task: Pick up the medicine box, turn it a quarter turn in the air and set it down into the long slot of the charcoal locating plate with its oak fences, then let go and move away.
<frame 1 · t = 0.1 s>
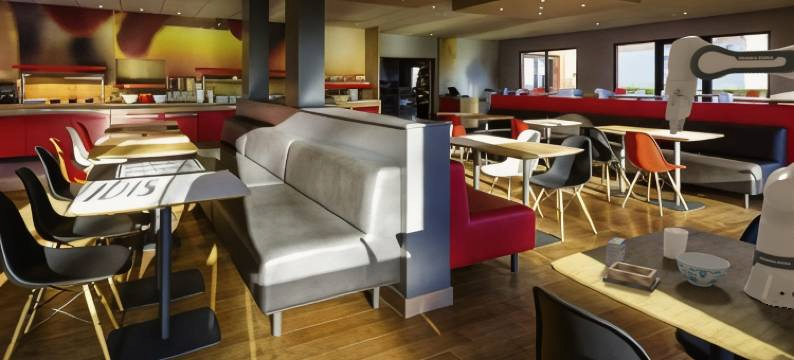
hand: (676, 132, 170), 48 cm above the table, tool pointing down, fingers open, 8 cm apart
medicine box: (614, 264, 188), on the table
locating plate: (631, 280, 172), on the table
white cup: (673, 257, 195), on the table
chinaware: (699, 283, 171), on the table
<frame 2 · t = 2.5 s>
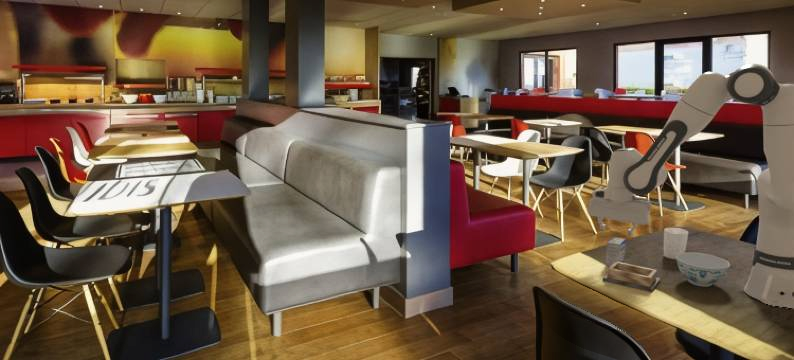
hand: (616, 232, 186), 12 cm above the table, tool pointing down, fingers open, 8 cm apart
nothing on the table moved.
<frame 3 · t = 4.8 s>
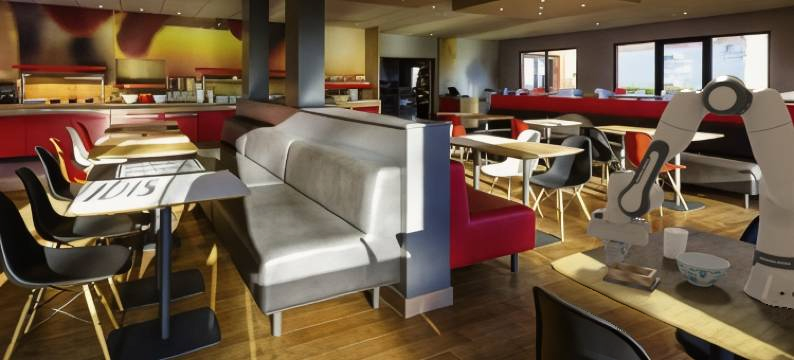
hand: (615, 252, 187), 4 cm above the table, tool pointing down, fingers closed on medicine box, 4 cm apart
medicine box: (614, 264, 188), on the table, touching gripper
everything else where it was.
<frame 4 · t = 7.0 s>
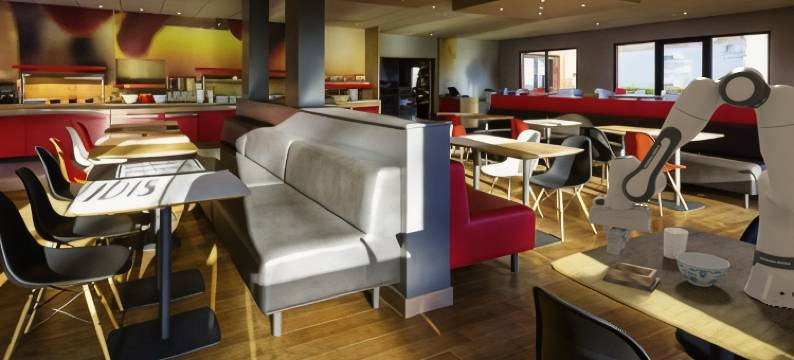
hand: (617, 239, 186), 9 cm above the table, tool pointing down, fingers closed on medicine box, 4 cm apart
medicine box: (616, 251, 187), point 4 cm above the table, touching gripper
everything else where it was.
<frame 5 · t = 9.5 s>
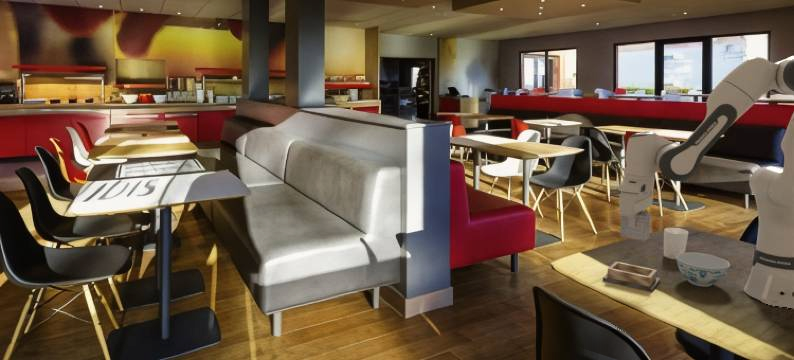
hand: (635, 224, 170), 19 cm above the table, tool pointing down, fingers closed on medicine box, 4 cm apart
medicine box: (634, 238, 171), point 14 cm above the table, touching gripper
everything else where it was.
when the fingers open (7 cm above the table, at t = 12.9 s): medicine box drops 1 cm, resting on locating plate.
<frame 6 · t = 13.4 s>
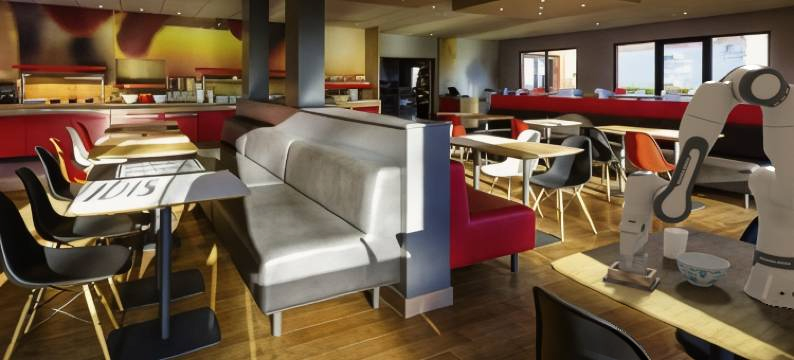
hand: (633, 261, 171), 7 cm above the table, tool pointing down, fingers open, 8 cm apart
medicine box: (631, 278, 172), point 1 cm above the table, touching locating plate
everything else where it was.
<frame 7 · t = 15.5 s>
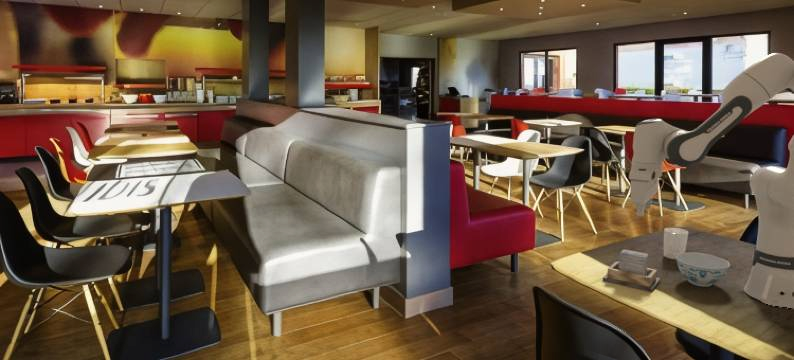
hand: (643, 212, 170), 23 cm above the table, tool pointing down, fingers open, 8 cm apart
nothing on the table moved.
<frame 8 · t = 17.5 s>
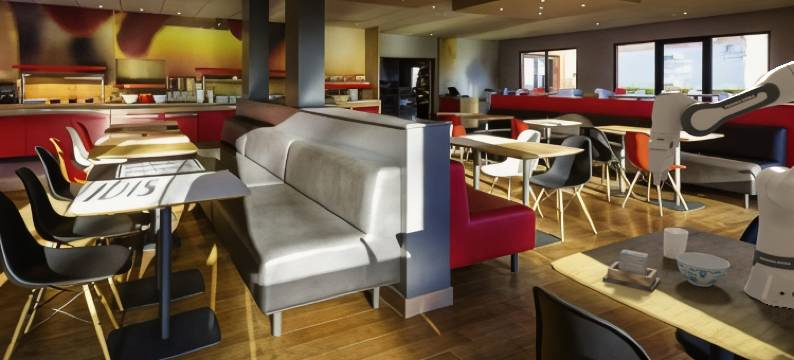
hand: (660, 182, 175), 31 cm above the table, tool pointing down, fingers open, 8 cm apart
nothing on the table moved.
at the end: medicine box 0.3 cm off-centre on the locating plate, point 0.8 cm above the locating plate's base; medicine box tilted 0°; the gripper is holding nothing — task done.
